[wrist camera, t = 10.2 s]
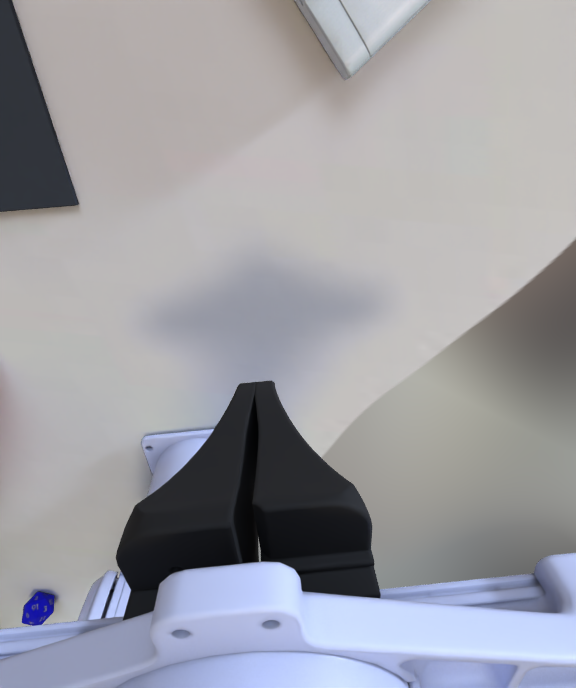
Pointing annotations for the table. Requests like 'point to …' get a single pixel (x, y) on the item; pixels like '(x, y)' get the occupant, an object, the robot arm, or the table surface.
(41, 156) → the desk mat
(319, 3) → the hard drive
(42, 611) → the die
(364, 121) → the table surface
